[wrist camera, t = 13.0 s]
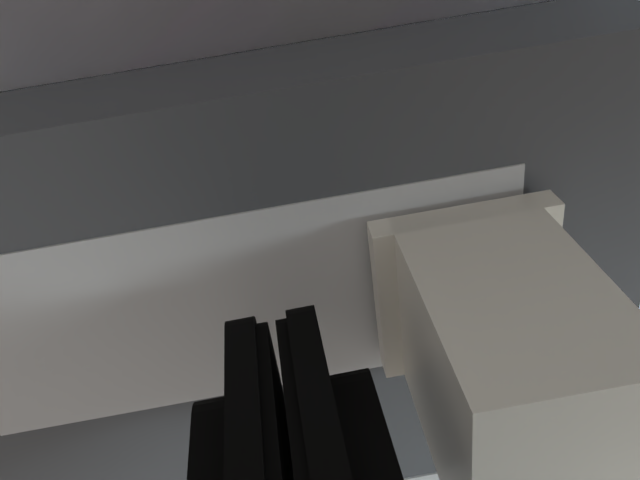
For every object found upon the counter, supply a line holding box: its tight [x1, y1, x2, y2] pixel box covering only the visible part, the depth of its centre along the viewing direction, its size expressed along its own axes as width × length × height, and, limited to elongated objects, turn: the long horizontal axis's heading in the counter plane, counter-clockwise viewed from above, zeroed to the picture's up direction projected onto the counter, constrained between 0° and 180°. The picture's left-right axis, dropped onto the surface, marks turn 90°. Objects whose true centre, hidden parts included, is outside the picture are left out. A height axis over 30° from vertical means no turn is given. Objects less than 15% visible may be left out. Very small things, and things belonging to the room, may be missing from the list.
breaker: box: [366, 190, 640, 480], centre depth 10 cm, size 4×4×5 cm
